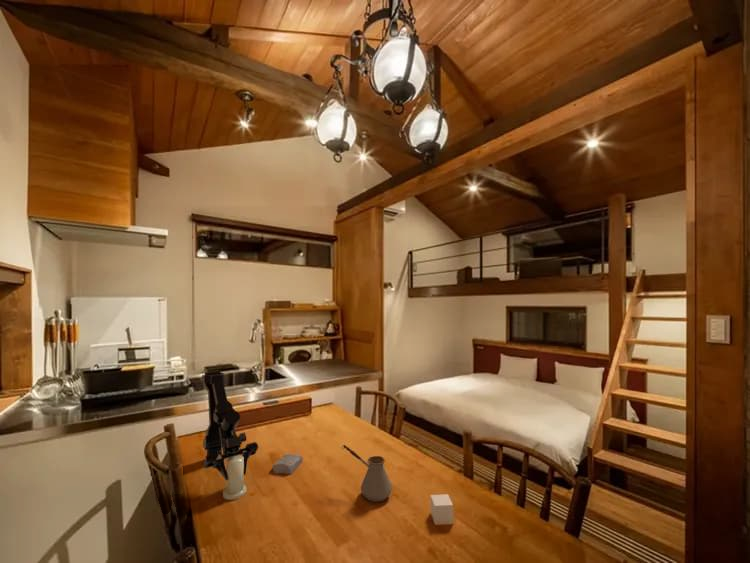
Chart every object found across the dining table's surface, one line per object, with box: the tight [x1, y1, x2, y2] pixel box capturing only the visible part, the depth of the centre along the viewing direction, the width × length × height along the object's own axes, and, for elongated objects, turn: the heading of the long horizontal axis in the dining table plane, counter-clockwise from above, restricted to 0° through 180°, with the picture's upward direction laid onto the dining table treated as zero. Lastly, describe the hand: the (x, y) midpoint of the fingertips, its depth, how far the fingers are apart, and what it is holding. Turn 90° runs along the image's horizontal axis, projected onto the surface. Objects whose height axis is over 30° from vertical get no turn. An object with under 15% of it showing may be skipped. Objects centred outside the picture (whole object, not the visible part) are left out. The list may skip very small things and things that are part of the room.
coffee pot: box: [341, 444, 393, 503], centre depth 128 cm, size 21×12×15 cm, turn 58°
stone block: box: [272, 453, 304, 475], centre depth 146 cm, size 12×5×10 cm
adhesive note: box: [430, 493, 454, 526], centre depth 112 cm, size 6×6×6 cm
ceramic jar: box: [222, 455, 247, 501], centre depth 127 cm, size 8×8×12 cm
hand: (236, 477), depth 125 cm, fingers closed on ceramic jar, 6 cm apart
